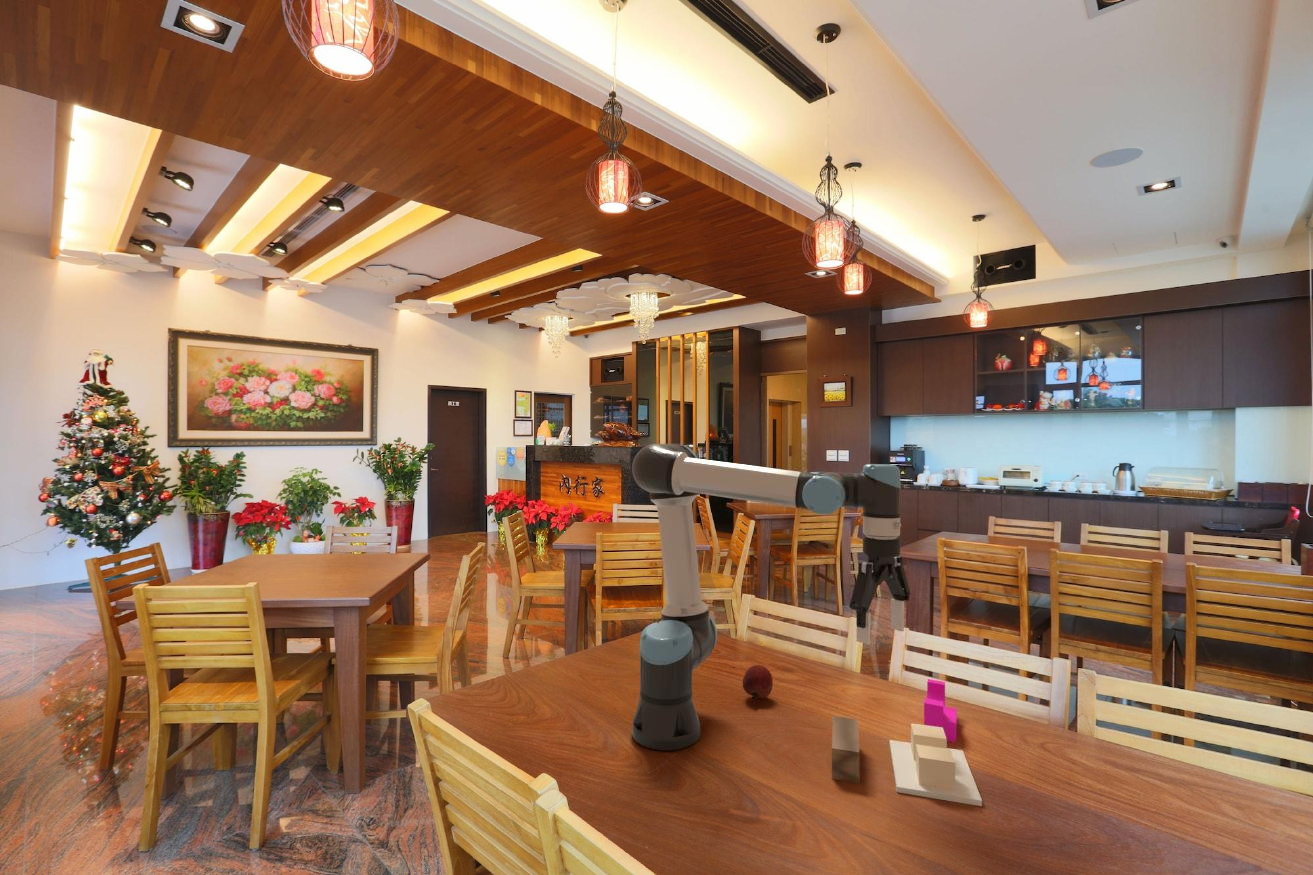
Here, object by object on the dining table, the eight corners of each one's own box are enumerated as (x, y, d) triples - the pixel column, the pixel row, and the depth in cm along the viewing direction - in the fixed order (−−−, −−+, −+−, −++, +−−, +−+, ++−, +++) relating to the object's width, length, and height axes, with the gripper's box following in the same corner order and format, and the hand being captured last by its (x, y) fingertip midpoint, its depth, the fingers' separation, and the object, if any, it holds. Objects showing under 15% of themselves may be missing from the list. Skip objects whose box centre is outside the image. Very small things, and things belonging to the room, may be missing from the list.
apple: (779, 698, 148) (779, 666, 148) (756, 706, 144) (756, 673, 144) (758, 688, 154) (758, 658, 154) (736, 695, 150) (736, 664, 150)
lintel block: (831, 779, 113) (831, 747, 113) (832, 744, 126) (832, 715, 126) (859, 784, 111) (859, 752, 111) (857, 747, 125) (857, 719, 125)
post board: (896, 791, 108) (896, 759, 109) (889, 744, 126) (889, 716, 126) (982, 806, 104) (982, 772, 104) (962, 755, 121) (962, 725, 121)
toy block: (956, 744, 126) (956, 708, 126) (924, 737, 129) (924, 702, 129) (956, 715, 140) (956, 683, 140) (927, 710, 142) (927, 678, 143)
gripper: (865, 544, 115) (864, 653, 115) (926, 533, 131) (926, 628, 131) (832, 539, 121) (831, 643, 121) (894, 529, 137) (894, 620, 137)
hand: (880, 636), depth 126 cm, fingers open, 13 cm apart
